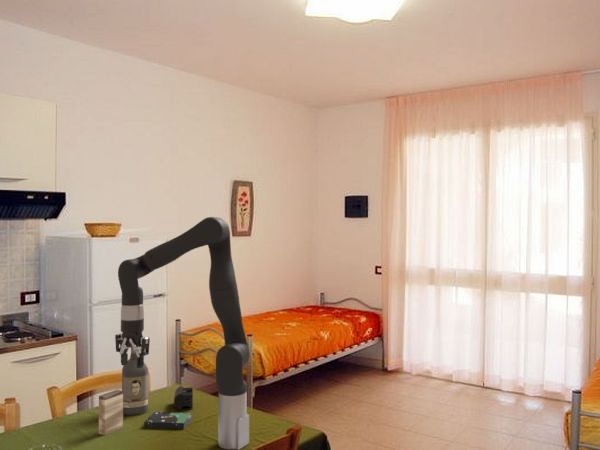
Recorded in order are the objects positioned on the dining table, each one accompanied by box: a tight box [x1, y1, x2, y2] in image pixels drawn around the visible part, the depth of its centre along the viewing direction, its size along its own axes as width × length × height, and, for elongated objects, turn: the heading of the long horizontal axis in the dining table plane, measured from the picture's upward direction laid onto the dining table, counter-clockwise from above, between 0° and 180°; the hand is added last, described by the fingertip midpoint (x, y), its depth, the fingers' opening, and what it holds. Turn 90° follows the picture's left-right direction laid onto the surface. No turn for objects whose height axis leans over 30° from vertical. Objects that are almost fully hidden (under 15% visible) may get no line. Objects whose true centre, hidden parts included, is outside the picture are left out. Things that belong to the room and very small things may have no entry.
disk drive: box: [143, 411, 193, 430], centre depth 190 cm, size 10×3×15 cm
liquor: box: [121, 346, 149, 416], centre depth 202 cm, size 9×9×30 cm
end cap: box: [173, 385, 194, 411], centre depth 207 cm, size 10×7×7 cm
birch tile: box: [98, 389, 124, 436], centre depth 183 cm, size 3×8×13 cm, turn 152°
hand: (132, 366), depth 178 cm, fingers open, 6 cm apart
